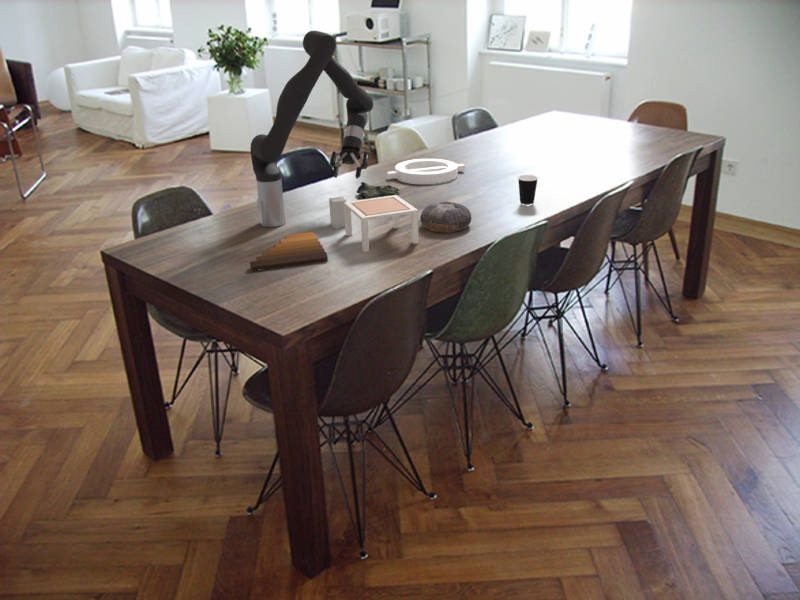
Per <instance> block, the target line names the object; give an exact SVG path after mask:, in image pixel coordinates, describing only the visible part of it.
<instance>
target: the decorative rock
mask: <svg viewBox="0 0 800 600" xmlns="http://www.w3.org/2000/svg"><path fill="white" fill-rule="evenodd" d="M399 191H400V189H399V188H398V187H395V186H392V185H389V184H388V185H378V186H374V185H370V184H368V183H366V182H364V181H361V182H360V185H359V186H358V188H357V190H356V193H357V194H359V195H363V196H365V199H371V198H378V197H385V196H392V195H397V196H398V195H399Z"/></svg>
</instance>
